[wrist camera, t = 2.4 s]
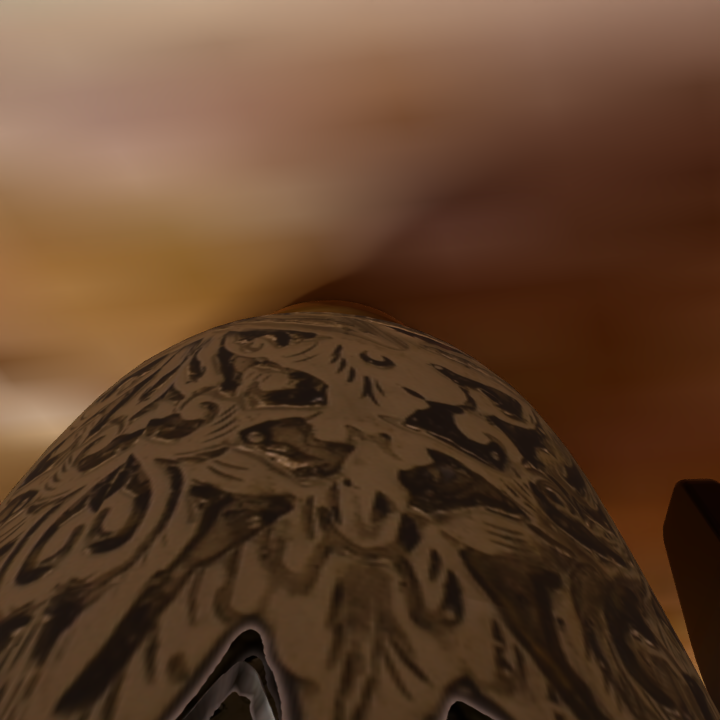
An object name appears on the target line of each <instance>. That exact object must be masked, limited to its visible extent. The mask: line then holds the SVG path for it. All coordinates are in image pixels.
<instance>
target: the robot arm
mask: <svg viewBox="0 0 720 720" xmlns="http://www.w3.org/2000/svg"><path fill="white" fill-rule="evenodd" d="M663 538H664V544H665V548H666V552H667V555H668V559H669V563H670V567H671V570H672V574H673V578H674V582H675V585H676V589H677V593H678V597H679V600H680V604H681V608H682V612H683V615H684V619H685V623H686V627H687V631H688V634H689V638H690V642H691V645H692V648H693V652H694V655H695V659H696V662H697V664H698V667H699V670H700V673H701V676H702V678H703V681H704V684H705V686H706V689H707V691H708V693H709V695H710V697H711V699H712V701H713V703H714V705H715V706H716V708H717V710H718V712H719V714H720V483H718V482H717V481H714V480H712V479H684V480H680V481H679V482H678V483H677V484H676V485H675V487H674V490H673V494H672V497H671V500H670V504H669V507H668V511H667V514H666V518H665V521H664V526H663Z"/></svg>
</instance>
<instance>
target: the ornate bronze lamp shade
mask: <svg viewBox="0 0 720 720" xmlns="http://www.w3.org/2000/svg"><path fill="white" fill-rule="evenodd" d="M0 720H720V714H719V712H718V710H717V708H716V706H715V705H714V703H713V701H712V699H711V697H710V695H709V693H708V692H707V690H706V688H705V686H704V684H703V682H702V680H701V679H700V677H699V675H698V673H697V671H696V669H695V668H694V666H693V664H692V662H691V660H690V658H689V657H688V655H687V653H686V651H685V649H684V647H683V646H682V644H681V642H680V640H679V638H678V636H677V635H676V633H675V631H674V629H673V627H672V625H671V624H670V622H669V620H668V618H667V616H666V615H665V613H664V611H663V609H662V607H661V605H660V604H659V602H658V600H657V598H656V596H655V595H654V593H653V591H652V589H651V587H650V586H649V584H648V582H647V580H646V578H645V577H644V575H643V573H642V571H641V569H640V568H639V566H638V564H637V562H636V560H635V559H634V557H633V555H632V553H631V551H630V550H629V548H628V546H627V544H626V543H625V541H624V539H623V537H622V536H621V534H620V532H619V531H618V529H617V527H616V525H615V524H614V522H613V520H612V519H611V517H610V515H609V513H608V512H607V510H606V508H605V507H604V505H603V503H602V502H601V500H600V498H599V497H598V495H597V493H596V492H595V490H594V488H593V487H592V485H591V483H590V482H589V480H588V479H587V477H586V476H585V474H584V473H583V471H582V470H581V468H580V467H579V465H578V464H577V462H576V461H575V459H574V458H573V456H572V455H571V454H570V452H569V451H568V449H567V448H566V446H565V445H564V444H563V443H562V442H561V440H560V439H559V438H558V437H557V435H556V434H555V433H554V432H553V430H552V429H551V428H550V427H549V425H548V424H547V423H546V422H545V421H544V420H543V418H542V417H541V416H540V415H539V414H538V413H537V411H536V410H535V409H534V408H533V407H532V406H531V404H530V403H529V402H528V401H527V400H526V399H524V398H523V397H522V396H521V395H520V394H519V393H518V392H517V391H516V390H515V389H514V388H513V387H512V386H511V385H510V384H508V383H507V382H506V381H504V380H503V379H501V378H500V377H499V376H497V375H496V374H495V373H493V372H492V371H491V370H489V369H488V368H487V367H485V366H484V365H482V364H481V363H480V362H478V361H477V360H476V359H474V358H473V357H471V356H470V355H468V354H466V353H464V352H463V351H461V350H459V349H457V348H456V347H454V346H452V345H450V344H449V343H447V342H444V341H442V340H440V339H437V338H435V337H433V336H431V335H428V334H426V333H424V332H421V331H418V330H415V329H412V328H409V327H407V326H406V325H404V324H403V323H402V322H400V321H399V320H397V319H395V318H394V317H392V316H390V315H388V314H386V313H384V312H382V311H380V310H377V309H375V308H372V307H369V306H366V305H363V304H358V303H354V302H348V301H339V300H319V301H309V302H304V303H298V304H295V305H292V306H288V307H285V308H283V309H280V310H278V311H275V312H273V313H271V314H269V315H265V316H259V317H253V318H248V319H242V320H239V321H235V322H232V323H228V324H225V325H221V326H218V327H214V328H212V329H209V330H207V331H205V332H202V333H200V334H197V335H195V336H192V337H190V338H188V339H186V340H184V341H182V342H180V343H178V344H176V345H173V346H171V347H170V348H168V349H166V350H164V351H162V352H160V353H159V354H157V355H155V356H153V357H151V358H150V359H148V360H146V361H144V362H143V363H142V364H140V365H139V366H138V367H136V368H135V369H133V370H132V371H131V372H129V373H128V374H127V375H125V376H124V377H123V378H121V379H120V380H119V381H118V382H116V383H115V384H114V385H113V386H112V387H110V388H109V389H108V390H107V391H106V392H104V393H103V394H102V395H101V396H99V397H98V398H97V399H96V400H95V401H94V402H93V403H92V404H91V405H90V406H89V407H88V408H87V409H86V410H85V411H84V412H83V413H82V414H81V415H80V416H79V417H78V418H77V419H76V420H75V421H74V422H73V423H72V424H71V425H70V426H69V427H68V428H67V429H66V430H65V431H64V432H63V433H62V434H61V435H60V436H59V437H58V438H57V439H56V440H55V441H54V442H53V443H52V444H51V445H50V446H49V448H48V449H47V450H46V451H45V452H44V453H43V454H42V456H41V457H40V458H39V459H38V460H37V461H36V463H35V464H34V465H33V466H32V467H31V468H30V470H29V471H28V472H27V473H26V474H25V475H24V476H23V478H22V479H21V480H20V481H19V482H18V483H17V485H16V486H15V487H14V488H13V489H12V491H11V492H10V493H9V494H8V496H7V497H6V498H5V499H4V501H3V502H2V503H1V504H0Z"/></svg>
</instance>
